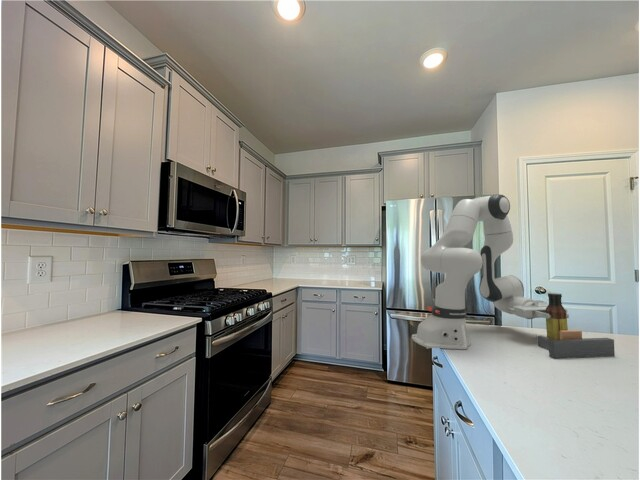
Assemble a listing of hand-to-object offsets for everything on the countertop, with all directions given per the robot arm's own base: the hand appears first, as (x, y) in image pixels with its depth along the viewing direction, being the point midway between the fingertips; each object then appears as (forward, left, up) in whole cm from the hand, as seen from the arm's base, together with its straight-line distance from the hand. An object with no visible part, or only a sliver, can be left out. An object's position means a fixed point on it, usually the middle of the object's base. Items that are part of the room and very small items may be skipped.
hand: (558, 316), depth 101 cm
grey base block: (0, -2, -12) cm, 12 cm away
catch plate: (0, -4, -12) cm, 12 cm away
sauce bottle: (0, +1, -11) cm, 11 cm away
